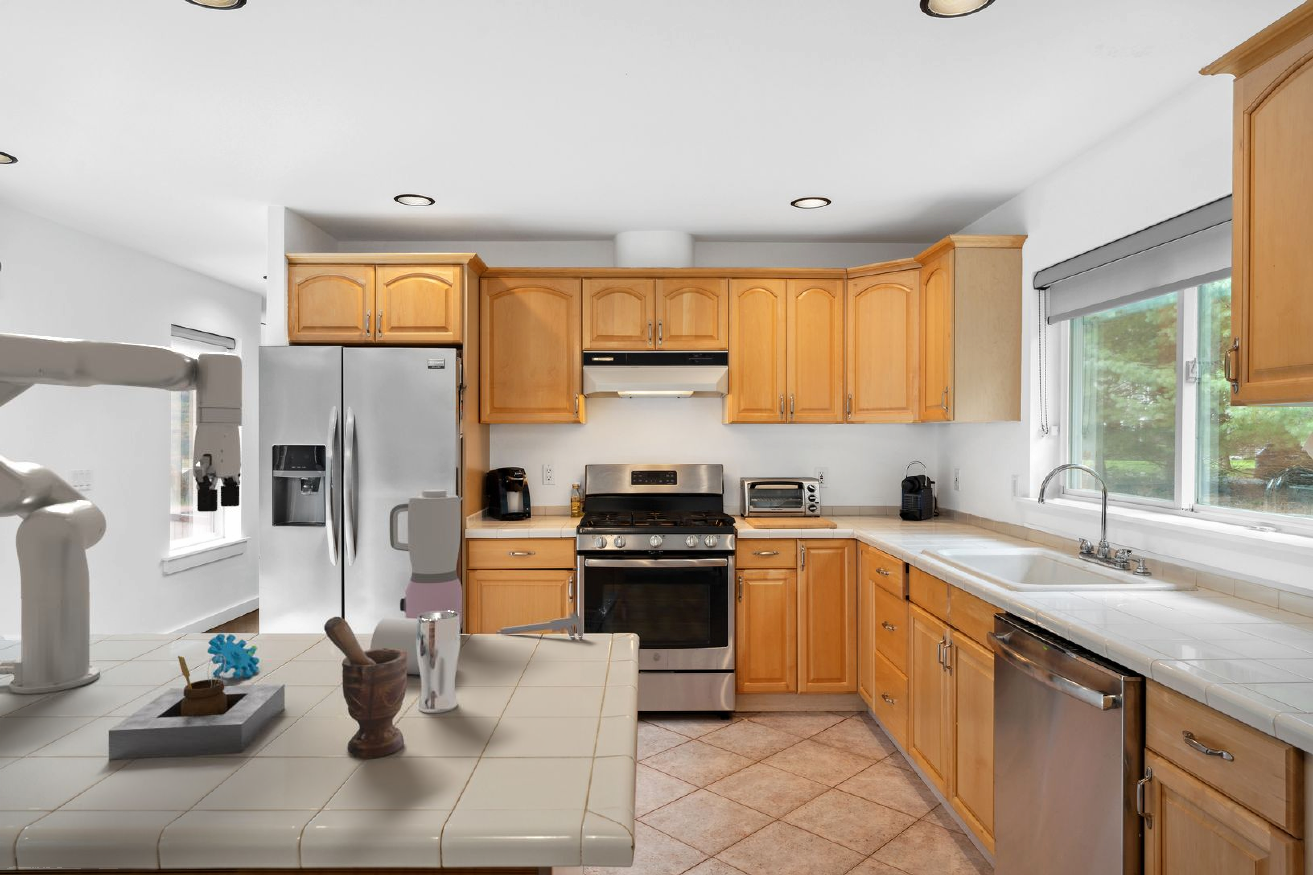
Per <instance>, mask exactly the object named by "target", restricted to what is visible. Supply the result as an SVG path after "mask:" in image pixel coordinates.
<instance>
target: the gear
mask: <svg viewBox="0 0 1313 875" xmlns="http://www.w3.org/2000/svg"><path fill="white" fill-rule="evenodd" d="M225 638H226V640H225ZM235 640H236V636H235V635H233V634H231V633H230V634H229V635H227V637H226V635H225V634H224V633H223V634H222V633H217V635H216V636H215V637H213V638H211V639H210V640H209V641H208V644H209V645H210V646H209V647H208V648H207V653H208V654H210V655H213V656H212V657H211V659H212V660H211V661H212V663H213V661H214V663H213V665H217V664H220V666H219V665H218V667H217V668H216V669H214V672H213V671H212V676H213V677H219V676H220V675H219V673H220V674H222V673H225V674H227V673H228V672H229V671H230V670H231V669H234V670H235V671H234V672H232V676H233V677H234V678H236V679H239V678H240V677H242V676H243V677H244V678H245V679H248V678H251V677H252V676H253V674H256V673H257V671H259V669H260V667H258V666H257V665H258V664H259V663H260V658H258V657H257V656H255V657H254V655H255V654H256V651H257V650H258V647H257V646H255V645H252V646H251V647H250V648H244V647H245V646H246V645H247V642H246V641H245V640H244V639H240V640H239V641H238V642H237V643H234V641H235ZM217 654H220V655H221V658H222V660H221V659H220V655H217ZM214 655H216V657H215V656H214ZM222 655H223V656H224V657H225V658H224V657H223V656H222ZM214 658H215V659H214ZM216 658H217V659H216ZM225 659H226V661H225ZM215 661H216V662H215ZM221 662H222V664H221ZM225 662H226V665H225V667H224V664H225ZM218 669H219V671H218ZM220 669H221V670H220ZM224 669H225V671H223V670H224ZM242 671H243V672H242ZM217 674H218V675H217Z"/></svg>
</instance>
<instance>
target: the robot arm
mask: <svg viewBox="0 0 1313 875" xmlns="http://www.w3.org/2000/svg"><path fill="white" fill-rule="evenodd" d="M36 384H37V385H52V386H63V387H64V386H66V387H75V388H76V387H77V388H82V387H83V388H88V387H89V388H90V387H92V386H98V385H99V386H100V385H102V386H103V385H106V386H124V387H134V388H135V387H136V388H137V387H139V388H149V389H158V390H160V389H161V390H166V391H169V392H187V391H188V392H189V391H195V425H196V429H195V436H194V443H193V458H192V475H193V477H194V478H195V483H196V490H197V492H196V493H197V505H196V508H197V509H196V510H197V511H198V512H201V513H203V512H217V511H218V489H216V486H217V484H218V482H219V479H220V480H221V483H222V485H220V506H221V507H239V506H240V485H241V480H240V477H241V475H242V474H241V469H242V462H241V457H242V455H241V453H242V452H241V438H240V429H239V427H242V426H243V424H242V423H243V361H242V359H241V357H240V356H239V355H238V354H234V353H228V352H220V351H219V352H218V351H217V352H214V351H212V352H211V351H209V352H202V353H200V354H193V353H192V354H191V353H186V352H183V351H180V350H177V349H175V348H170V347H168V346H166V347H165V346H160V345H147V344H138V343H137V344H135V343H126V342H113V341H98V340H93V339H92V340H91V339H82V338H81V339H80V338H69V337H67V338H65V337H55V336H46V335H45V336H44V335H43V336H42V335H34V334H23V333H22V334H21V333H9V332H0V408H1V407H3V406H4V405H5V404H7V403H9V402H11V401H12V400H14V399H15V398H17V397H18V396H20V395H21V394H23V393H25V392H26V391H27V390H29V389H31V387H33V386H34V385H36ZM15 516H17V517H19V518H21V520H22V521H21V523H20V524H19V526H18V528H17V530H16V534H15V549H16V553H17V559H18V566H19V573H20V575H19V576H20V599H21V602H20V604H21V605H20V606H21V607H20V608H21V611H20V612H21V616H20V618H21V621H20V623H21V624H20V625H21V626H20V630H21V631H20V632H21V633H20V635H21V636H20V641H21V642H20V654H21V655H20V657H21V658H20V659H19V660H3V661H1V663H0V675H13V679H12V680H11V681H10V682H9V686H8V688H9V691H10V692H11V693H14V694H23V695H25V694H26V695H27V694H28V695H33V694H44V693H45V694H47V693H51V692H57V691H58V692H59V691H64V690H69V689H72V688H76V687H80V686H83V685H87V684H88V683H92V682H93V681H96V680H97V679H98V678H99V677H100V676H101V669H100V668H99V667H97V666H94V665H90V659H91V658H90V657H91V656H90V654H91V652H90V651H91V650H90V649H91V648H90V646H91V645H90V643H91V642H90V637H91V636H90V635H91V634H90V630H91V629H90V622H91V621H90V620H91V618H90V617H91V616H90V612H91V611H90V605H91V604H90V602H91V600H90V598H91V597H90V571H89V563H88V559H87V554H86V550H87V549H90V548H91V547H93V546H95V545H96V544H98V543H99V542H100V541H101V540H102V539H103V537H104V536H105V533H106V530H107V521H106V517H105V515H104V513H103V511H102V510H101V509H100V508H99V507H98V506H97V505H96V504H95V503H93V502H92V500H90V499H88V497H86V496H84V494H82V492H80V491H78V490H77V489H76V488H75V487H73V486H72V485H71V484H69V483H68V482H67V481H66V480H64V478H62V477H61V476H59V475H58V474H57V473H56V472H54V471H52V470H51V469H49V468H47V467H45V466H43V465H42V464H39V463H36V462H29V461H12V460H10V459H9V458H7V457H5V456H4V455H3V454H1V453H0V518H9V517H15Z"/></svg>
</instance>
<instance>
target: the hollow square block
mask: <svg viewBox="0 0 1313 875" xmlns="http://www.w3.org/2000/svg"><path fill="white" fill-rule="evenodd" d="M285 687H286V686H285V683H274V684H273V683H271V684H270V683H269V684H249V685H244V684H243V685H224V690H223V692H224V693H225V694H226V697H227V712H226V713H225V714H224V715H208V716H187V717H181V704H182V701H183V699H184V698H185V696H184V694H183V693H184V688H185V687H178V688H175V687H174V688H170V689H168V690H167V691H165V692H163V694H161V695H159V696H158V697H156V698H155V699H153V700H152V701H150V702H149V703H147V704H145V705H144V706H143V707H141V708H140V709H138V710H137V711H135V712H134V713H133V714H131V715H130V716H128V717H127V718H125V719H124V720H122V721H121V722H119V723H118V724H116V725H114V726H113V727H112V728H110V729H109V730H108V760H109V761H110V760H112V761H113V760H126V759H127V760H129V759H147V758H166V757H183V756H184V757H185V756H204V755H205V756H206V755H207V756H208V755H221V754H222V755H223V754H237V753H238V754H242V753H243V752H244V751H245V750H246V749H247V748H248V747H249V746H250V745H251V744H252V743H253V742H254V740H255V741H256V739H257V738H258V737H259V736H260V734H262V732H263V731H265V729H267V727H268V726H269V725H270V724H271V723H272V722H273V721H274V720H275V719H276V718H277V717H278V716H279V715H280V714H281V712H283V711H284V710H285V704H286V702H285V698H286V697H285V692H286V691H285V690H286V688H285Z"/></svg>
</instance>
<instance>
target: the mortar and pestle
mask: <svg viewBox="0 0 1313 875" xmlns="http://www.w3.org/2000/svg"><path fill="white" fill-rule="evenodd" d="M323 625H324V626H323V627H324V631H325V633H326V634H325V635H326V636H327V638H329V640H330V641H331V642H332V643H333V644H334V646H336V647H337V648H338V649H339V650H340V651H341V652H342V653H343V655H344V656H345V657H344V659H342V662H341V666H342V672H341V673H342V674H341V675H342V693H343V698H344V700H345V702H346V703H345V704H346V705H347V712H348V714H349V716H350V717H351V718H352V719H353V721H354V720H355V722H357V724H358V727H359V728H358V730H357V731H356V733H355V734H354V735H353V736H352V737H351V739H350V740H349V741H348V744H347V751H348V753H349V754H350V755H351V756H352V757H355V758H359V759H375V758H380V757H383V756H387V755H390V754H393V753H395V752H397V751H399V750H401V748H402V747H403V746H404V743H405V741H404V737H403V736H404V735H403V732H402V730H400V729H399V728H398V727H396V726H394V724H393V720H394V719H395V717H396V716H397V715H398V713H399V712H400V711H401V708H402V705H403V701H404V699H405V696H406V693H407V685H408V684H407V683H408V676H407V675H408V674H407V673H406V671H407V654H408V653H407V652H405V651H404V650H400V649H394V648H393V649H388V648H383V649H372V650H370V649H367V650H366V649H365V650H363V648H362V647H361V645H360V644H359V642H358V640H357V638H356V636H355V633H354V631H353V630H352V628H351V627H350V625H349V623H348V621H347V620H345V619H344V618H343V617H340V616H333V617H330V618H329V619H328V620H327V621H326V622H325V624H323Z"/></svg>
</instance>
